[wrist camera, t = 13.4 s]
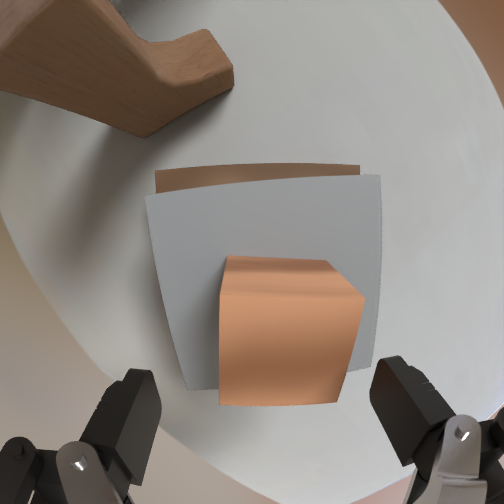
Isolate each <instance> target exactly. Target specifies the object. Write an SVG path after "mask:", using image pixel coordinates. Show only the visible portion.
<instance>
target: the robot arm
mask: <svg viewBox="0 0 504 504" xmlns="http://www.w3.org/2000/svg"><path fill="white" fill-rule="evenodd" d="M370 402H371V405H372V407H373V409H374V411H375V412H376V414H377V416H378V418H379V420H380V422H381V424H382V426H383V428H384V430H385V432H386V434H387V436H388V438H389V440H390V442H391V444H392V446H393V448H394V450H395V452H396V454H397V456H398V458H399V460H400V462H401V464H402V466H403V467H404V466H407V465H409V464H412V463H415V465H416V468H415V470H414V472H413V475H412V478H411V481H410V484H409V487H408V490H407V493H406V496H405V498H404V501H403V504H504V469H503V468H502V466H501V464H500V463H499V461H498V459H500V457H501V456H502V455H503V454H504V407H503V408H502V409H501V410H500V411H499V412H498V414H497V416H496V417H495V418H494V419H492V420H487V421H482V422H478V421H477V420H476V419H474V418H473V417H471V416H468V415H462V414H461V415H456V414H455V413H454V411H453V410H452V409H451V407H450V406H449V405H448V404H447V402H446V401H445V400H444V399H443V397H442V396H441V395H440V394H439V392H438V391H437V390H435V387H434V386H433V385H432V384H431V383H429V380H428V379H427V377H426V376H425V375H424V374H423V373H422V372H421V371H419V370H418V369H416V368H415V367H413V366H408V365H407V363H406V362H405V361H404V360H403V358H402V357H401V356H393V357H388V358H383V359H380V360H379V361H378V363H377V367H376V370H375V374H374V378H373V381H372V384H371V388H370ZM161 410H162V407H161V400H160V397H159V393H158V390H157V387H156V383H155V380H154V376H153V373H152V372H151V371H150V370H142V369H132V368H131V369H129V370H128V372H127V373H126V375H125V377H124V379H123V381H116V382H114V383H113V384H112V385H111V386H110V387H108V388H107V389H106V391H105V393H104V395H103V396H102V398H101V401H100V402H99V404H98V405H97V409H95V411H94V413H93V415H92V417H91V418H90V421H89V422H88V424H87V426H86V428H85V430H84V432H83V434H82V436H81V438H80V439H79V441H74V442H69V443H67V444H65V445H63V446H62V447H61V448H60V449H59V451H53V450H41V449H36V448H35V446H34V445H33V444H32V442H30V441H29V440H28V439H27V438H24V437H14V438H12V439H10V440H8V441H7V442H6V443H5V445H4V446H3V448H2V450H1V452H0V504H28V501H29V499H30V496H31V493H32V491H33V490H34V491H35V492H34V495H33V498H32V500H31V503H30V504H135V503H134V502H133V500H132V498H131V496H130V495H129V493H128V489H129V486H130V484H134V485H139V486H141V485H142V481H143V477H144V473H145V470H146V466H147V462H148V459H149V455H150V452H151V448H152V444H153V441H154V437H155V434H156V430H157V427H158V424H159V420H160V417H161Z"/></svg>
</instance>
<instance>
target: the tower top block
mask: <svg viewBox="0 0 504 504" xmlns="http://www.w3.org/2000/svg"><path fill="white" fill-rule="evenodd" d="M145 203H146V210H147V217H148V224H149V230H150V237H151V243H152V248H153V254H154V259H155V265H156V270H157V275H158V280H159V285H160V289H161V294H162V298H163V303H164V307H165V311H166V316H167V320H168V324H169V328H170V332H171V335H172V339H173V343H174V347H175V350H176V354H177V357H178V361H179V364H180V368H181V371H182V374H183V378H184V381H185V384H186V387H187V390H203V389H219V310H220V291H221V286H222V281H223V276H224V271H225V265H226V260H227V255H231V256H251V257H271V258H291V259H312V260H326V261H327V262H329V263H330V264H331V265H332V266H333V267H334V268H335V269H336V270H337V271H338V272H339V273H340V274H341V275H342V276H343V277H344V278H345V279H346V280H347V281H348V282H349V283H350V284H351V285H352V286H353V287H354V288H355V289H356V290H357V291H358V292H359V293H361V294H362V295H363V296H364V297H365V303H364V307H363V312H362V316H361V321H360V325H359V329H358V333H357V337H356V341H355V344H354V348H353V352H352V355H351V359H350V362H349V366H348V369H347V372H351V371H355V370H359V369H364V368H368V367H371V362H372V356H373V349H374V342H375V334H376V326H377V317H378V307H379V296H380V281H381V261H382V201H381V181H380V175H343V176H319V177H301V178H286V179H273V180H261V181H251V182H241V183H231V184H223V185H214V186H206V187H199V188H191V189H184V190H177V191H171V192H164V193H158V194H152V195H146V196H145Z"/></svg>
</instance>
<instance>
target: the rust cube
mask: <svg viewBox="0 0 504 504" xmlns="http://www.w3.org/2000/svg"><path fill="white" fill-rule="evenodd" d="M364 303H365V297H364V296H363V295H362V294H361V293H359V292H358V291H357V290H356V289H355V288H354V287H353V286H352V285H351V284H350V283H349V282H348V281H347V280H346V279H345V278H344V277H343V276H342V275H341V274H340V273H339V272H338V271H337V270H336V269H335V268H334V267H333V266H332V265H331V264H330V263H329V262H327V261H326V260H312V259H291V258H271V257H251V256H231V255H227V260H226V265H225V271H224V276H223V281H222V286H221V291H220V310H219V405H237V406H290V405H309V404H322V403H333V402H337V400H338V397H339V394H340V391H341V388H342V385H343V382H344V379H345V376H346V372H347V369H348V366H349V362H350V359H351V355H352V352H353V348H354V344H355V341H356V337H357V333H358V329H359V325H360V321H361V316H362V312H363V307H364Z"/></svg>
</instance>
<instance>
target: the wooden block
mask: <svg viewBox="0 0 504 504" xmlns="http://www.w3.org/2000/svg"><path fill="white" fill-rule="evenodd" d="M233 86H234V73H233V65H232V63H231V62H230V60H229V59H228V57H227V56H226V54H225V53H224V51H223V50H222V48H221V47H220V45H219V44H218V43H217V41H216V40H215V38H214V37H213V36H212V34H211V33H210V31H208V30H207V29H201V30H199V31H196V32H193V33H191V34H188V35H186V36H183V37H181V38H178V39H176V40H174V41H166V42H153V43H149V42H147V41H145V40H143V39H141V38H139V37H137V35H136V34H135V33H134V32H133V30H132V29H131V28H130V27H129V25H128V24H127V23H126V22H125V20H124V19H123V18H122V16H121V15H120V14H119V13H118V12H117V10H116V9H115V8H114V7H113V5H112V4H111V3H110V2H109V0H0V90H2V91H6V92H9V93H13V94H17V95H20V96H24V97H27V98H30V99H34V100H37V101H40V102H44V103H47V104H50V105H53V106H56V107H59V108H62V109H65V110H68V111H71V112H74V113H77V114H80V115H83V116H86V117H88V118H91V119H94V120H97V121H99V122H102V123H105V124H107V125H110V126H113V127H115V128H118V129H120V130H123V131H126V132H128V133H131V134H133V135H136V136H138V137H141V138H146V137H147V136H149V135H150V134H152V133H153V132H155V131H157V130H158V129H160V128H161V127H163V126H164V125H166V124H168V123H169V122H171V121H172V120H174V119H176V118H177V117H179V116H181V115H182V114H184V113H186V112H188V111H189V110H191V109H193V108H195V107H196V106H198V105H200V104H202V103H204V102H205V101H207V100H209V99H211V98H213V97H215V96H217V95H219V94H221V93H223V92H225V91H227V90H229V89H231V88H232V87H233Z"/></svg>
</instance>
